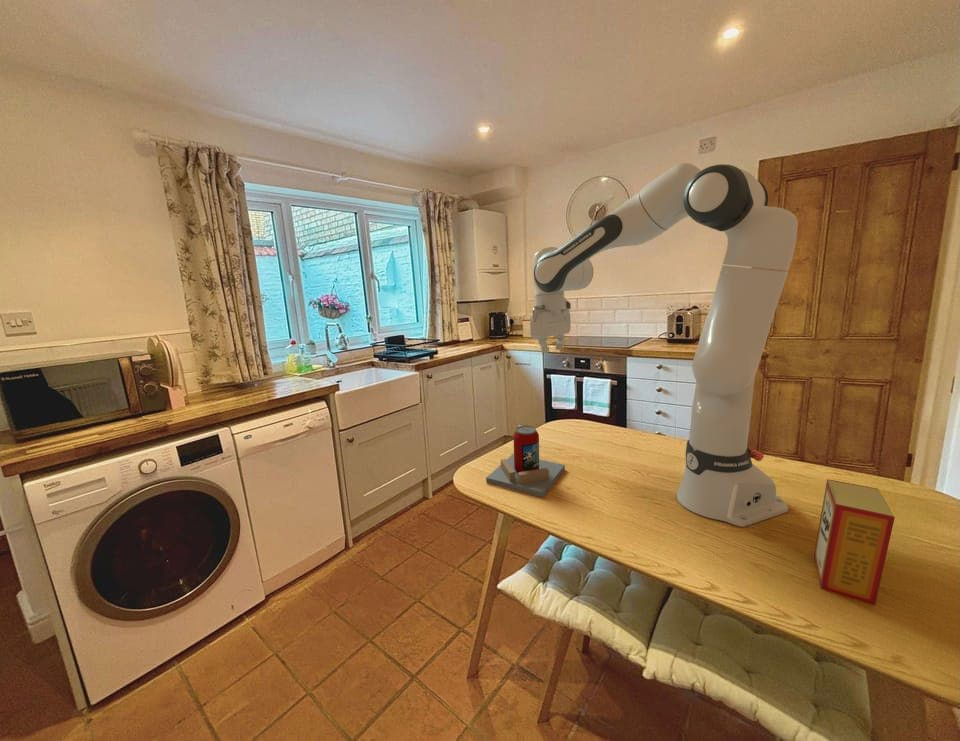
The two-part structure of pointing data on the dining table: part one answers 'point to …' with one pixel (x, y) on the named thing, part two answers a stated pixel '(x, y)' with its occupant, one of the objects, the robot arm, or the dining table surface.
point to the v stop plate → (528, 486)
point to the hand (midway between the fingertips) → (552, 351)
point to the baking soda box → (852, 540)
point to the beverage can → (526, 449)
